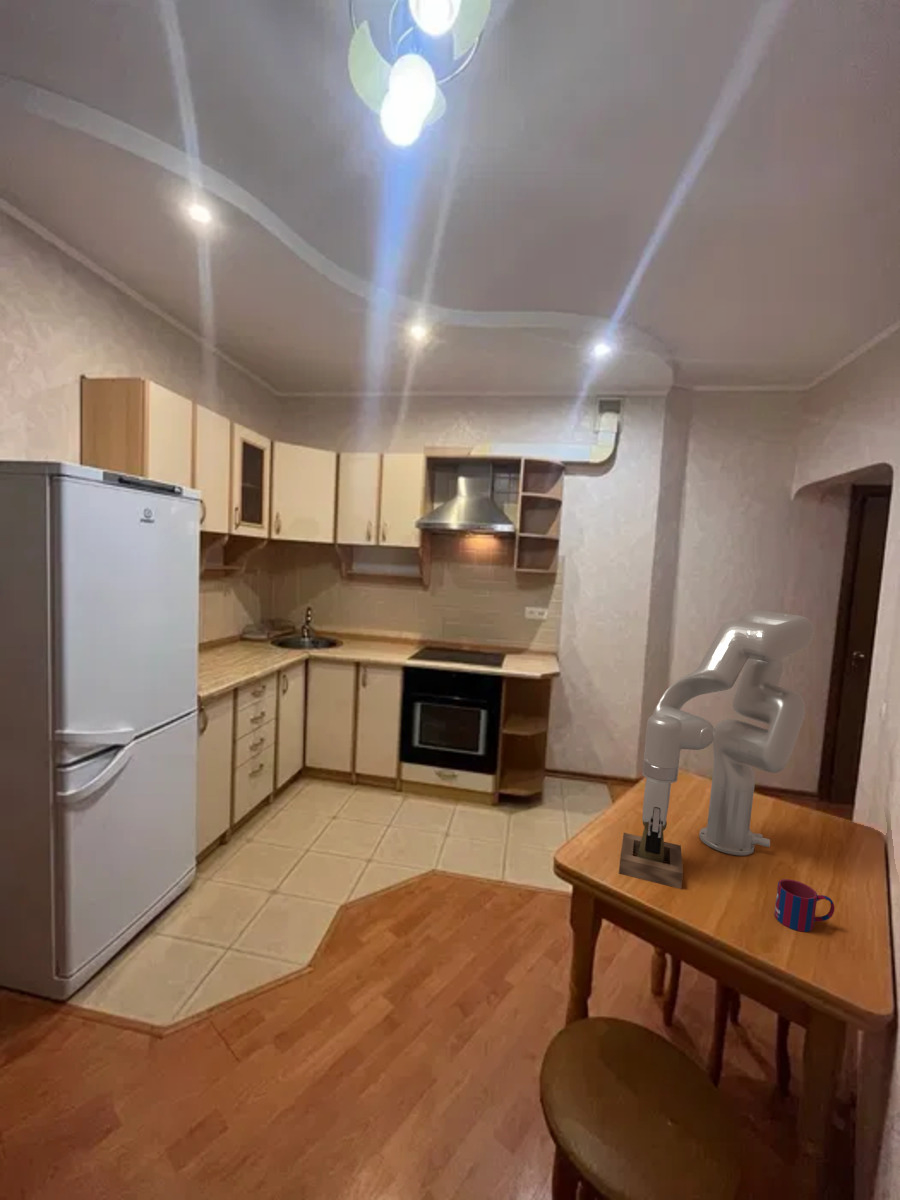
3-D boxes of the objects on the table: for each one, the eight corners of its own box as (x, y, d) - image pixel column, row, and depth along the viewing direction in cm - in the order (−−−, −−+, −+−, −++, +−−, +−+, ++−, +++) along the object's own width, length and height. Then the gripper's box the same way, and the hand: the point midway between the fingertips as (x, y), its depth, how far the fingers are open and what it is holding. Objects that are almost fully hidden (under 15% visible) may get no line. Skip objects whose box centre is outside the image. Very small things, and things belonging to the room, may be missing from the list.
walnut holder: (679, 859, 134) (680, 845, 133) (681, 888, 122) (682, 873, 121) (622, 846, 138) (623, 832, 138) (618, 873, 126) (620, 858, 126)
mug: (771, 906, 117) (775, 875, 117) (827, 921, 114) (832, 889, 113) (777, 925, 111) (781, 893, 111) (836, 941, 108) (841, 907, 107)
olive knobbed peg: (666, 869, 126) (671, 822, 125) (638, 865, 128) (643, 818, 127) (662, 855, 132) (666, 810, 131) (635, 851, 133) (639, 806, 132)
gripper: (643, 755, 137) (636, 827, 139) (641, 780, 121) (633, 861, 123) (676, 761, 135) (669, 834, 136) (679, 787, 119) (670, 870, 120)
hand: (652, 846), depth 130 cm, fingers closed on olive knobbed peg, 4 cm apart
